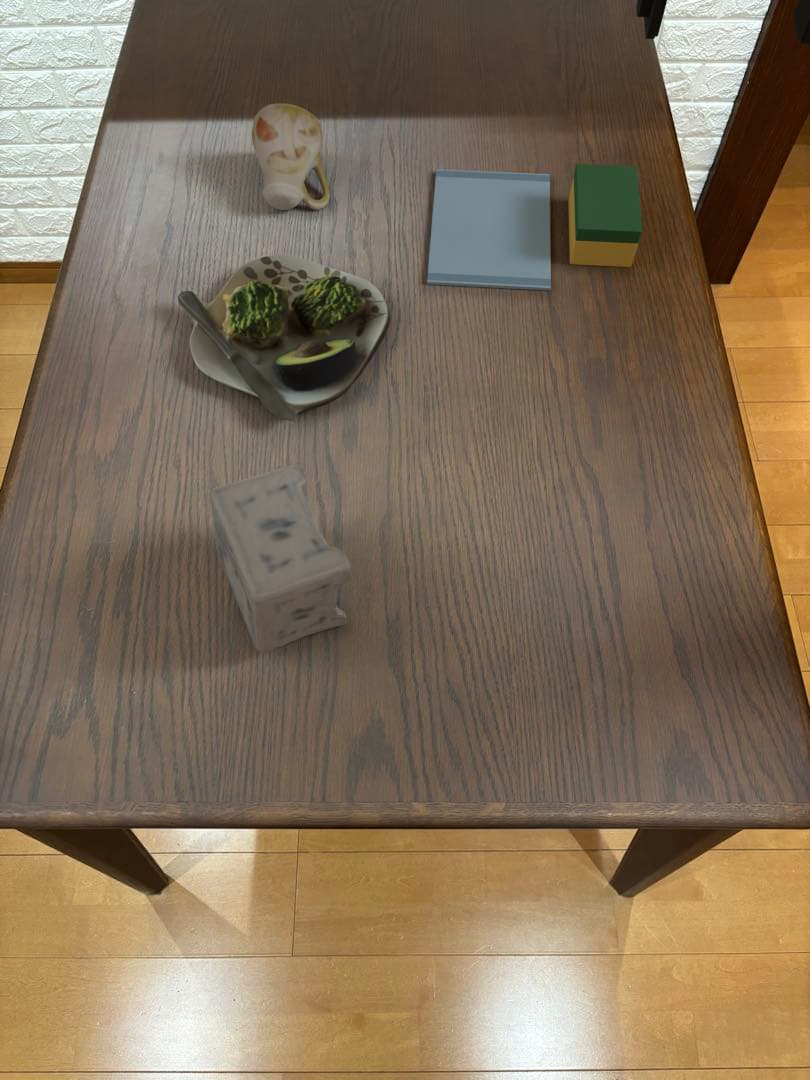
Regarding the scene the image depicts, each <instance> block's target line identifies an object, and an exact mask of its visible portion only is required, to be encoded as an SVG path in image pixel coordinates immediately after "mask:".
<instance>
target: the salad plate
mask: <svg viewBox="0 0 810 1080" xmlns="http://www.w3.org/2000/svg"><path fill="white" fill-rule="evenodd" d="M177 302H178V304H179V307H181V309H183V311H184V312H185V313H186V314H187V315H188V317H189V318H190V319H191V321H192V324H193V325H192V326H193V327H192V330H191V334H190V338H189V347H190V352H191V355H192V358H193V361H194V364H195V365H196V367H197V368H198V369H199V370H200V371H201V372H202V373H203V374H204V375H205V376H208V377H210V378H211V379H213V380H214V381H216V382H218V383H220V384H222V385H224V386H226V387H229V388H231V389H235V390H238V391H241V392H242V393H245V394H247V395H251V396H254V397H255V398H257V399H259V402H260V403H261V404H262V405H263V406H264V407H265V408H266V409H267V410H268V411H269V412H270V413H271V414H273V415H274V416H275V417H277V418H278V419H279V420H282V421H291V422H296V419H297V416H298V414H299V413H301V412H304V411H306V410H311V409H314V408H319V407H322V406H325V405H327V404H330V403H332V402H334V401H336V400H338V399H339V398H341V397H342V396H343V395H344V394H345V393H346V392H347V391H348V390H349V389H350V388H351V387H352V386H353V385H354V383H355V382H356V381H357V380H358V378H360V377H361V375H362V374H363V372H364V370H365V369H366V367H367V366H368V364H369V363H370V362H371V360H372V359H373V357H374V355H375V354H376V351H377V350H378V348H379V347H380V345H381V344H382V342H383V340H384V339H385V336H386V333H387V331H388V329H389V327H390V324H391V314H390V308H389V307H388V303H387V301H386V299H385V297H384V296H383V294H382V292H381V291H380V289H379V288H378V287H377V286H376V285H375V284H374V283H373V282H371V281H368V280H367V279H365V278H362V277H360V276H357V275H354V274H352V273H348V272H345V271H342V270H340V269H335V268H331V267H330V266H327V265H323V264H320V263H318V262H315V261H314V260H309V259H306V258H303V257H301V256H296V255H294V254H289V253H271V254H266V255H262V256H259V257H256V258H253V259H250V260H248V261H247V262H245V263H243V264H241V265H240V267H238V268H237V269H236V270H235V272H233V274H231V276H230V277H229V279H228V280H227V282H226V283H225V285H223V287H222V288H221V290H220V291H219V293H218V294H217V295H216V296H215V297H214V299H212V300H210V301H208V302H205V301H203V300H202V299H200V298H199V296H198V295H197V294H196V293H195V292H193V291H191V290H184V291H182V292H181V293H180V294H178V296H177Z"/></svg>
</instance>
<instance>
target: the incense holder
mask: <svg viewBox="0 0 810 1080" xmlns="http://www.w3.org/2000/svg"><path fill="white" fill-rule="evenodd" d="M307 482H309V476H308V473H307V472H306V469H305V467H304V465H303V464H302V463H301V462H298V463H293V464H290V465H289V464H288V465H285V466H282V467H279V468H276V469H273V470H269V471H267V472H263V473H259V474H256V475H253V476H250V477H248V478H244V479H239V480H236V481H233V482H231V483H230V482H229V483H227V484H224V485H221V486H217V487H216V486H215V487H212V488H211V489H210V492H209V495H208V496H209V502H210V509H211V515H212V519H213V520H212V523H213V529H214V537H215V539H214V540H215V549H216V554H217V557H218V560H219V563H220V566H221V567H222V569H223V571H224V574H225V575H226V578H227V580H228V583H229V585H230V588H231V590H232V592H233V595H234V597H235V600H236V603H237V605H238V608H239V610H240V612H241V615H242V617H243V620H244V623H245V626H246V628H247V631H248V633H249V636H250V639H251V641H252V644H253V646H254V648H255V649H256V650H257V651H258V652H259V653H260V654H267V653H269V652H272V651H273V650H275V649H279V648H280V647H283V646H286V645H288V644H290V643H292V642H294V641H299V640H300V639H302V638H305V637H307V636H311V635H314V634H316V633H321V632H324V631H326V630H330V629H334V628H337V627H342V626H345V625H347V622H348V616H347V613H346V612H345V611H344V610H343V609H341V608H340V607H339V606H338V605H337V601H338V590H339V588H340V587H341V586H343V585H345V584H347V583H348V582H349V581H350V580H351V577H352V565H351V562H350V560H349V558H348V556H347V554H346V553H345V551H343V550H341V549H340V548H339V547H338V546H331V545H330V544H329V543H328V542H327V540H326V538H325V537H324V535H323V534H322V532H321V530H320V527H319V525H318V522H317V520H316V518H315V517H314V514H313V513H314V512H313V511H312V509H311V506H310V504H309V503H308V501H307V499H306V497H305V495H304V493H303V487H304V485H306V484H307Z"/></svg>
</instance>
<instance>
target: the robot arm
mask: <svg viewBox="0 0 810 1080" xmlns="http://www.w3.org/2000/svg"><path fill="white" fill-rule="evenodd" d="M667 3H668V0H636V11H635V12H636V17H637V18H643V26H644V37H645V39H646V40H655V38H658V37H659V33H660V30H661V27H662V22H663V19H664V15H665V10H666V7H667ZM792 19H793V24H794V28H795V32H796V36H797V40H798V42H800V44H801V45H810V0H798V2H797V4H796V6H795V9H794V13H793V18H792Z"/></svg>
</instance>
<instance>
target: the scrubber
mask: <svg viewBox="0 0 810 1080" xmlns="http://www.w3.org/2000/svg"><path fill="white" fill-rule="evenodd" d="M640 198H641V197H640V187H639V174H638V166H635V165H619V164H618V165H617V164H616V165H615V164H593V163H576V164H575V168H574V172H573V177H572V182H571V187H570V191H569V196H568V235H569V236H568V239H569V241H568V242H569V243H568V244H569V265H577V266H595V267H596V266H599V267H615V268H616V267H617V268H618V267H619V268H632V265H633V263H634V259H635V255H636V252H637V250H638V246H639V243H640V239H641V236H642V233H643V226H642V225H643V224H642V212H641V201H640V200H641V199H640Z"/></svg>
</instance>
